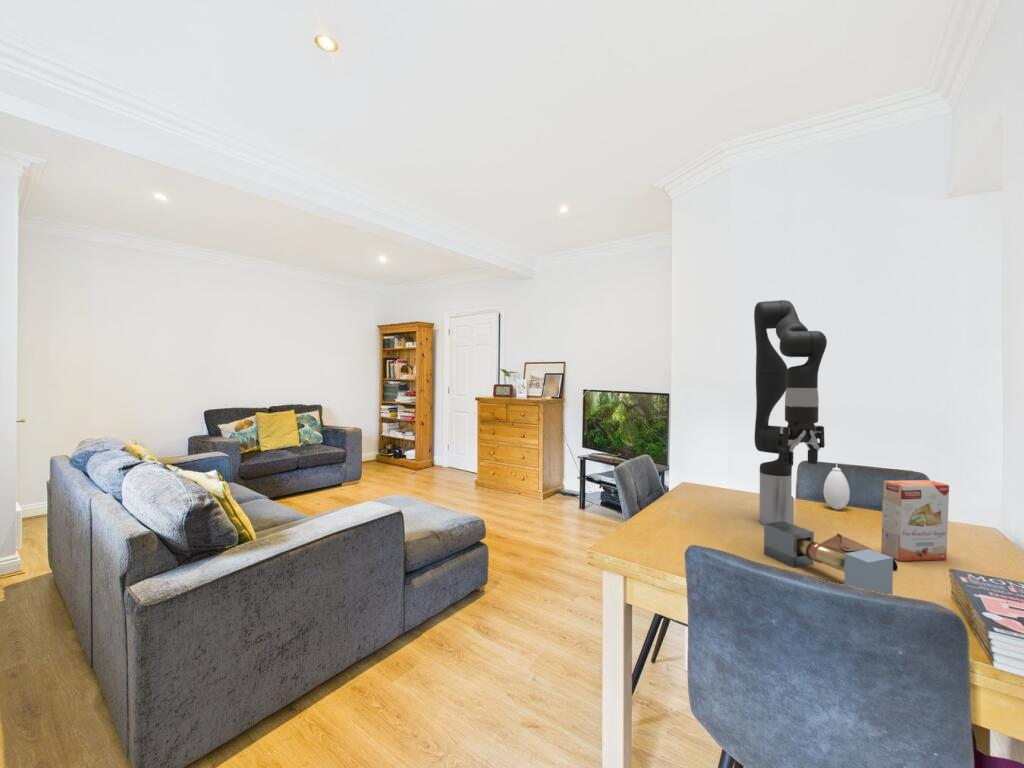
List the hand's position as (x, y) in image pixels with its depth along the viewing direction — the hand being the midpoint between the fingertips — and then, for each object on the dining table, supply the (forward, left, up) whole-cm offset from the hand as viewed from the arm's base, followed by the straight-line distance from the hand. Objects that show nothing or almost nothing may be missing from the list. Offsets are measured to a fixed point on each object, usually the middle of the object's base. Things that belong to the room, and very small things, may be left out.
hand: (800, 464), depth 116 cm
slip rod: (+2, +4, -24) cm, 24 cm away
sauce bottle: (-55, -29, -27) cm, 67 cm away
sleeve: (+2, -2, -26) cm, 26 cm away
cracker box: (-32, +8, -27) cm, 42 cm away
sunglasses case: (-16, +3, -27) cm, 31 cm away
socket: (+2, +18, -26) cm, 32 cm away
